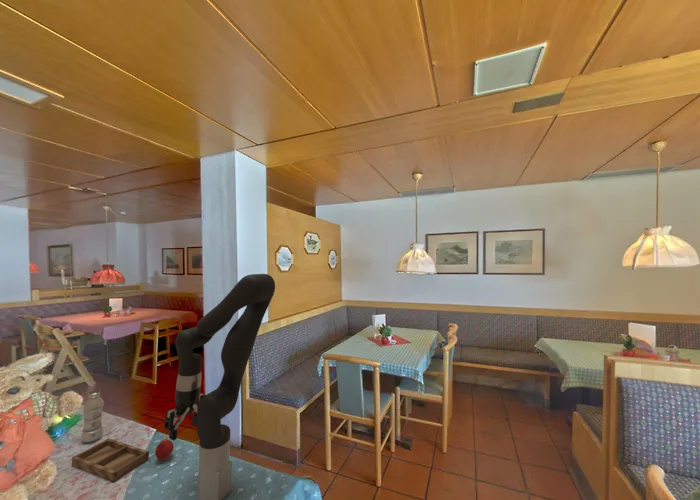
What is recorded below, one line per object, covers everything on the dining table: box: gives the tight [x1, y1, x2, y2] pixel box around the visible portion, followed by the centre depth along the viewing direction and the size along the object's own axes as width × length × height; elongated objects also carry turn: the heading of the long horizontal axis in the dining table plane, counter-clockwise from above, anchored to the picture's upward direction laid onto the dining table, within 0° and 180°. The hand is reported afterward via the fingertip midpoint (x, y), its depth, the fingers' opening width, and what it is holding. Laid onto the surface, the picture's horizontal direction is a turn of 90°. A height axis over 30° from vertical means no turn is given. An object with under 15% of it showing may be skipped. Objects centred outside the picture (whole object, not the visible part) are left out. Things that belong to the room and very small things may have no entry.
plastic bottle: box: [80, 389, 105, 444], centre depth 118 cm, size 6×7×20 cm
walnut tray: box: [71, 438, 150, 483], centre depth 105 cm, size 23×12×3 cm, turn 71°
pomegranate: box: [154, 437, 174, 461], centre depth 108 cm, size 6×6×8 cm
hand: (184, 432), depth 97 cm, fingers open, 8 cm apart
